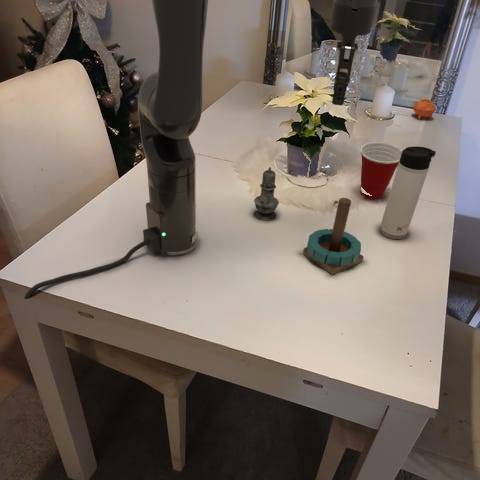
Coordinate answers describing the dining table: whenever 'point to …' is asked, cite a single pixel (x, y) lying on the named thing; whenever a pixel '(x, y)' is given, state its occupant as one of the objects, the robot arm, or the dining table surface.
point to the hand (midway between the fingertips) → (337, 97)
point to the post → (336, 239)
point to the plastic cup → (378, 167)
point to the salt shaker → (266, 197)
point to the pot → (424, 108)
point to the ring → (331, 256)
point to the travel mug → (405, 191)
